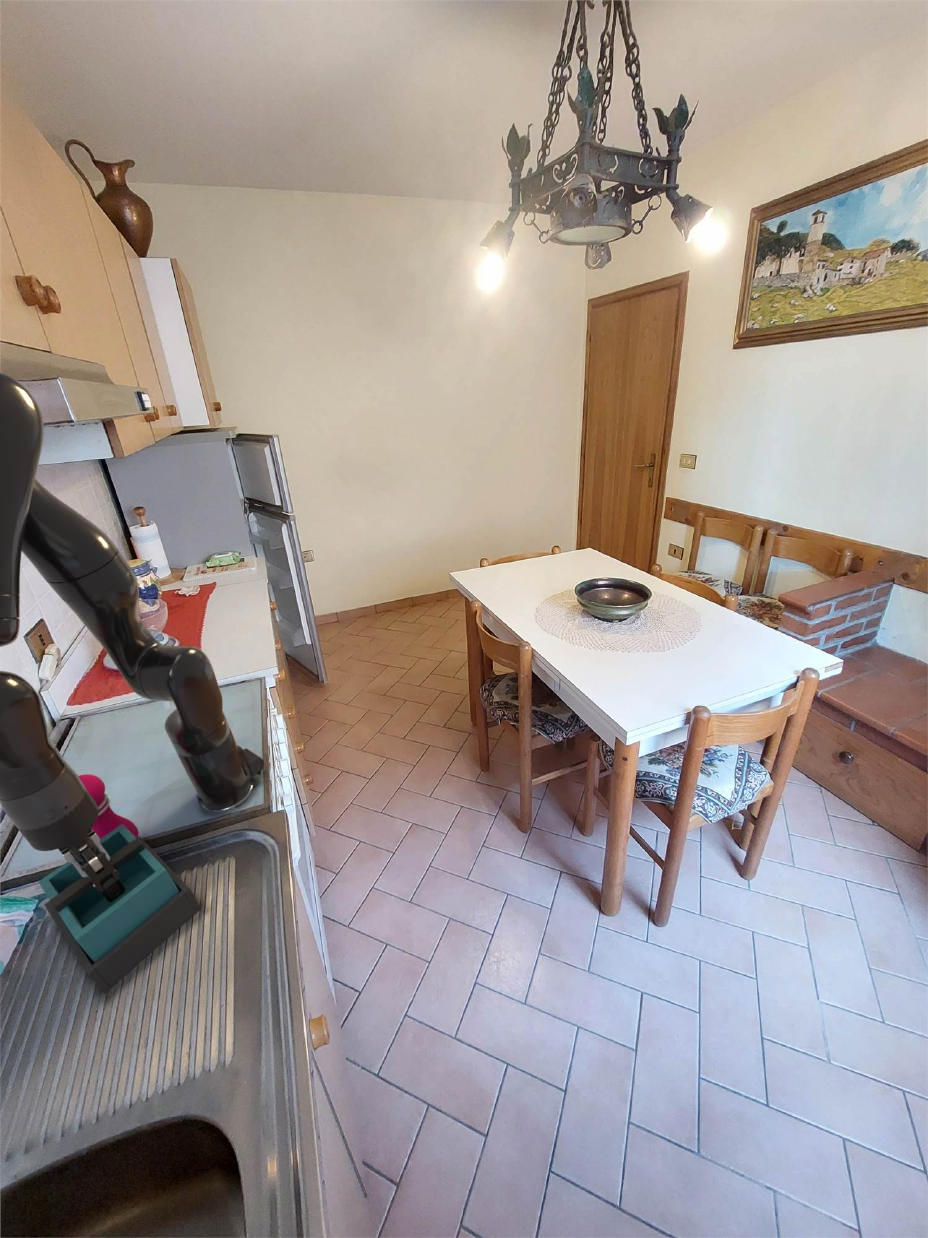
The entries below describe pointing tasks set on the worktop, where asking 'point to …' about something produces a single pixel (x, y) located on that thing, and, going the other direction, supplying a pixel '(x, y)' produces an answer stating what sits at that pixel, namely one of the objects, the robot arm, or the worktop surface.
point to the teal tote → (90, 910)
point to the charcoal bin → (134, 935)
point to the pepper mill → (104, 808)
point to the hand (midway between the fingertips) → (107, 883)
